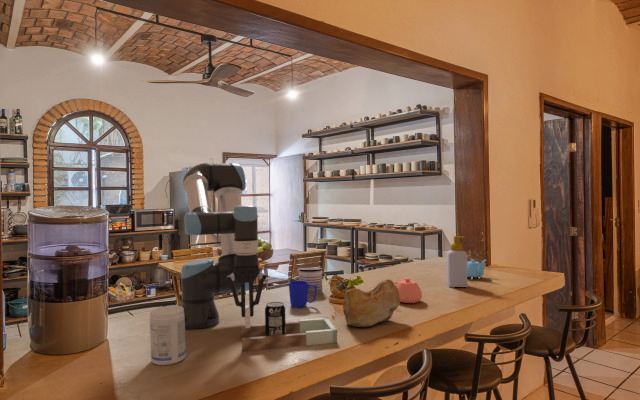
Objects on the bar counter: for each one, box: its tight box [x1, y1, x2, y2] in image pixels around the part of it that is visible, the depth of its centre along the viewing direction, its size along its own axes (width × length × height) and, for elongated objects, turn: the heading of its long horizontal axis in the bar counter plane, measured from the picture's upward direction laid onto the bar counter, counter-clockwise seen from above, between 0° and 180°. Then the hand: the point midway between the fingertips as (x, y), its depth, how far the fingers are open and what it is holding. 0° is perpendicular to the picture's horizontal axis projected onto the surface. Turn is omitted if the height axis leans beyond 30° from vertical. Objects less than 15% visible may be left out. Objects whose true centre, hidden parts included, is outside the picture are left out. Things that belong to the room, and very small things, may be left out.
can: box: [298, 267, 323, 296], centre depth 206 cm, size 11×11×12 cm
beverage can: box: [264, 301, 286, 336], centre depth 139 cm, size 7×7×12 cm
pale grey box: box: [298, 317, 338, 346], centre depth 142 cm, size 10×14×4 cm
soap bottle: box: [446, 235, 468, 288], centre depth 214 cm, size 9×9×25 cm
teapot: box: [467, 259, 487, 278], centre depth 234 cm, size 13×13×10 cm
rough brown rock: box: [342, 279, 401, 328], centre depth 160 cm, size 23×17×15 cm
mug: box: [288, 280, 317, 308], centre depth 180 cm, size 8×12×10 cm
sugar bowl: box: [393, 277, 423, 304], centre depth 186 cm, size 12×14×10 cm
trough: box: [240, 320, 308, 352], centre depth 139 cm, size 20×14×4 cm
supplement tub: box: [149, 305, 187, 366], centre depth 124 cm, size 10×10×15 cm
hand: (247, 326), depth 137 cm, fingers closed
